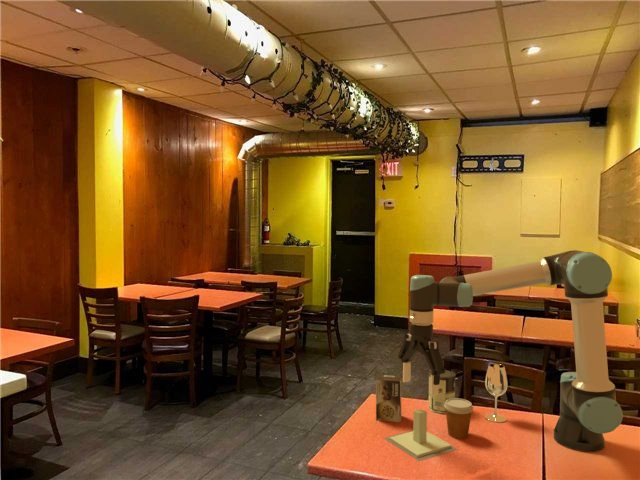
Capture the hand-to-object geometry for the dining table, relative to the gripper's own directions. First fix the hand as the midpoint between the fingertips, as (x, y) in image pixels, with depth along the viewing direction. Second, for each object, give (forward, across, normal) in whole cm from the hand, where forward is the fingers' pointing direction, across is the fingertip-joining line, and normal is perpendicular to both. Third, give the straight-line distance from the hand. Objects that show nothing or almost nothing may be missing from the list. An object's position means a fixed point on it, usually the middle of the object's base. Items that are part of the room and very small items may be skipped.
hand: (419, 387), depth 162 cm
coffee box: (+20, -22, +4) cm, 30 cm away
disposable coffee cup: (+20, +1, +16) cm, 25 cm away
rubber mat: (+20, 0, 0) cm, 20 cm away
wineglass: (+20, -4, +40) cm, 45 cm away
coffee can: (+20, -21, +29) cm, 41 cm away
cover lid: (+18, 0, 0) cm, 19 cm away
